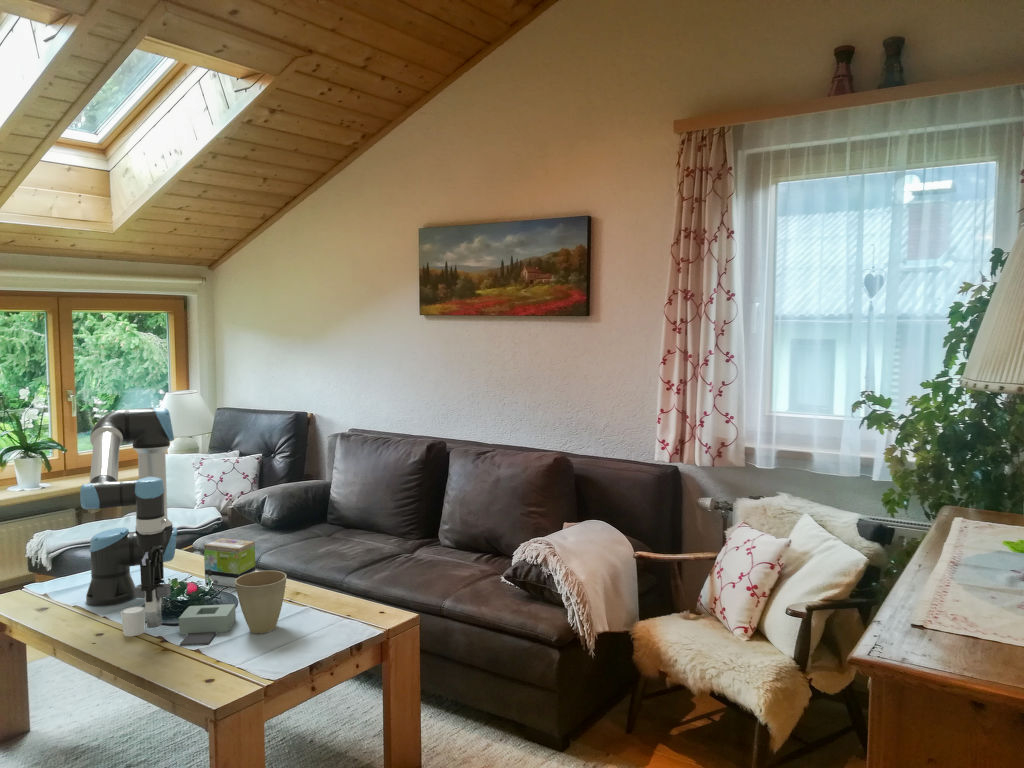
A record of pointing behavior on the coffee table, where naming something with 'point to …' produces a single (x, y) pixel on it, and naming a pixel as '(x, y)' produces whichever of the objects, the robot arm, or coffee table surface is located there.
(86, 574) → the coffee table surface
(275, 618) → the plant pot
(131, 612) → the white cylinder
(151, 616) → the chuck key
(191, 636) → the rubber mat
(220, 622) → the block
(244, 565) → the tea box
